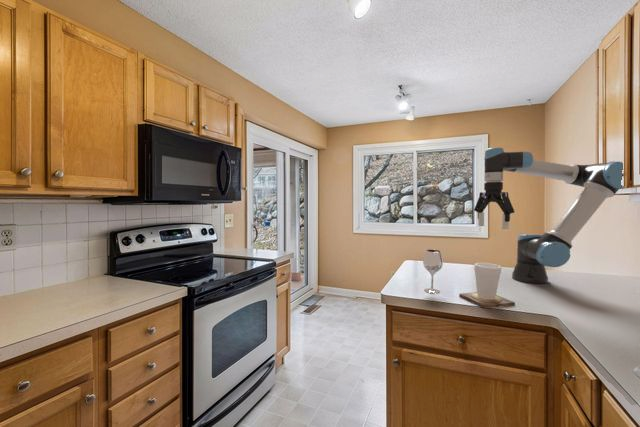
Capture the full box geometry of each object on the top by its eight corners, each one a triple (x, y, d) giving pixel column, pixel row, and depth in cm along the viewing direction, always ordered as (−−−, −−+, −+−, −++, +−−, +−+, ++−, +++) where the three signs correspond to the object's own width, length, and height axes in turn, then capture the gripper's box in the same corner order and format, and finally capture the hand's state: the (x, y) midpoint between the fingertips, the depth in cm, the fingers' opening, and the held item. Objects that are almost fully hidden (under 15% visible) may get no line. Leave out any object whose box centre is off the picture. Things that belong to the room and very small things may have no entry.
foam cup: (503, 302, 121) (504, 268, 120) (477, 300, 123) (478, 267, 122) (494, 294, 131) (496, 263, 130) (470, 292, 132) (472, 262, 131)
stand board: (486, 294, 135) (487, 290, 135) (514, 305, 122) (514, 301, 122) (459, 296, 132) (459, 292, 132) (484, 308, 118) (485, 304, 118)
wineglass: (421, 292, 136) (423, 251, 135) (422, 287, 144) (423, 248, 143) (442, 295, 134) (443, 253, 132) (441, 289, 141) (443, 249, 140)
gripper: (466, 182, 156) (466, 225, 158) (511, 180, 133) (510, 230, 134) (478, 182, 159) (478, 224, 160) (524, 180, 135) (523, 229, 136)
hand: (492, 227), depth 147 cm, fingers open, 13 cm apart
